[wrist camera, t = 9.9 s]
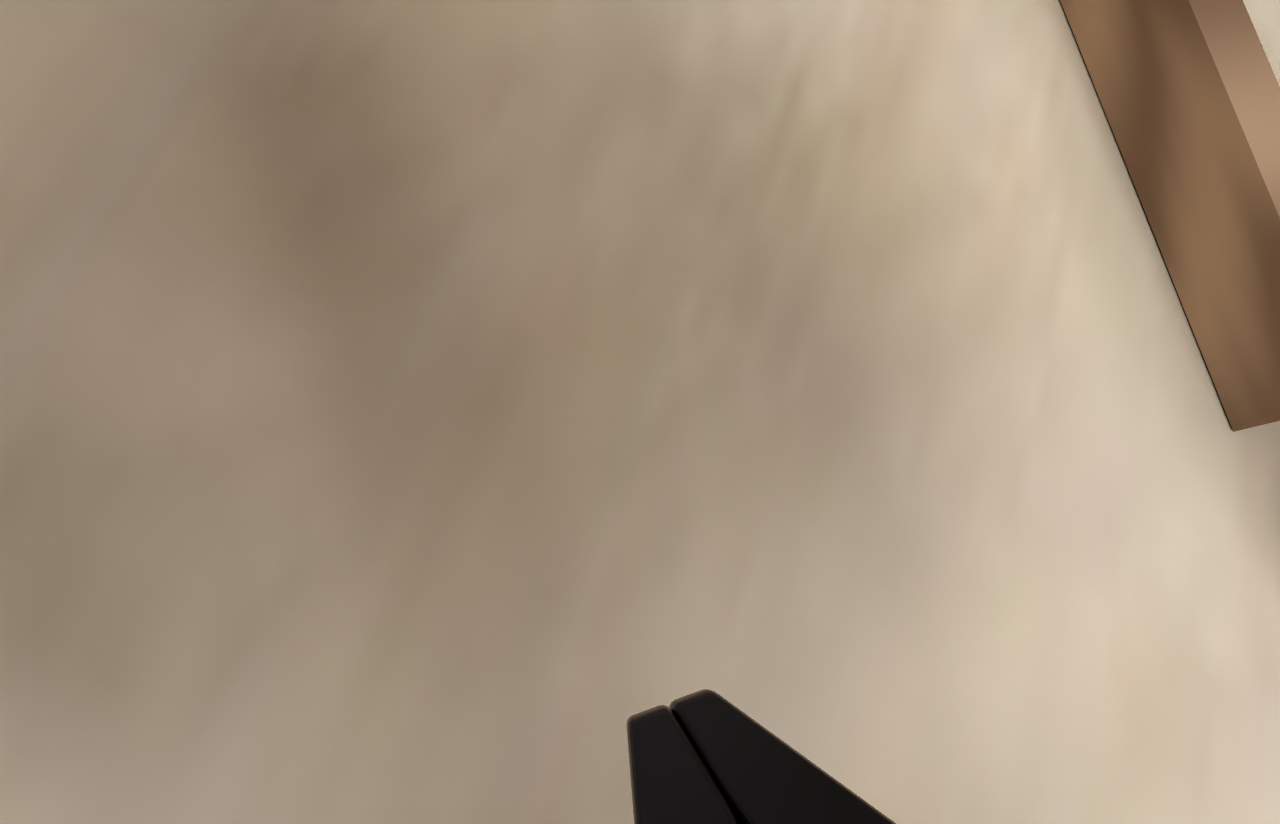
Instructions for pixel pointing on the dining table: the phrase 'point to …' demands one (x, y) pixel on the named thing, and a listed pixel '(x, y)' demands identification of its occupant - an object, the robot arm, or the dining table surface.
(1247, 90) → the wooden u-shaped frame
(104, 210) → the dining table surface
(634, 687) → the dining table surface
